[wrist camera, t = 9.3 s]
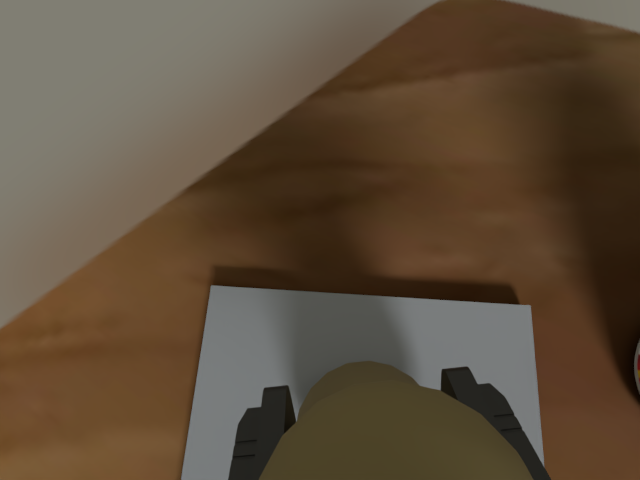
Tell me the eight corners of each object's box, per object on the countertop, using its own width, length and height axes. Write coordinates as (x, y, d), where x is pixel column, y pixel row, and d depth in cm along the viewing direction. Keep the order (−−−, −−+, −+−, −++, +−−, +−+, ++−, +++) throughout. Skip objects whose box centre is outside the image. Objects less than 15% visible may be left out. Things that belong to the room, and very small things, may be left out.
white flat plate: (177, 551, 18) (168, 561, 17) (217, 288, 21) (211, 285, 20) (544, 593, 16) (556, 607, 16) (521, 308, 20) (530, 305, 19)
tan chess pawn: (266, 414, 16) (119, 508, 6) (385, 332, 17) (447, 282, 6) (349, 563, 14) (354, 1089, 4) (477, 465, 15) (769, 693, 5)
